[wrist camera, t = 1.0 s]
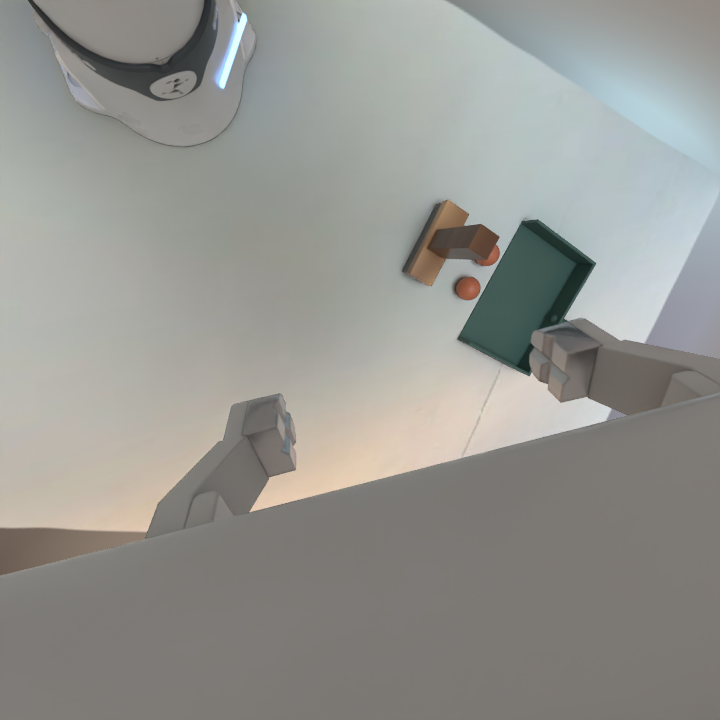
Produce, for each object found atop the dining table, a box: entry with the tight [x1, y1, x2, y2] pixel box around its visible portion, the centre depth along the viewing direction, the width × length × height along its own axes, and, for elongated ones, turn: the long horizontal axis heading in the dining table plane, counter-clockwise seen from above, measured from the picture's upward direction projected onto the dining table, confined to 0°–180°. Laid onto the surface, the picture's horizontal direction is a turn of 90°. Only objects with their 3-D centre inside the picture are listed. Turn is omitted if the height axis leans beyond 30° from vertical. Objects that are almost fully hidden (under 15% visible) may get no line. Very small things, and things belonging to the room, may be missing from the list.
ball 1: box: [456, 277, 480, 300], centre depth 50 cm, size 3×3×3 cm
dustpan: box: [458, 220, 596, 376], centre depth 54 cm, size 21×19×3 cm
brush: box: [402, 200, 499, 286], centre depth 42 cm, size 4×10×13 cm, turn 152°
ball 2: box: [476, 245, 500, 266], centre depth 49 cm, size 3×3×3 cm
